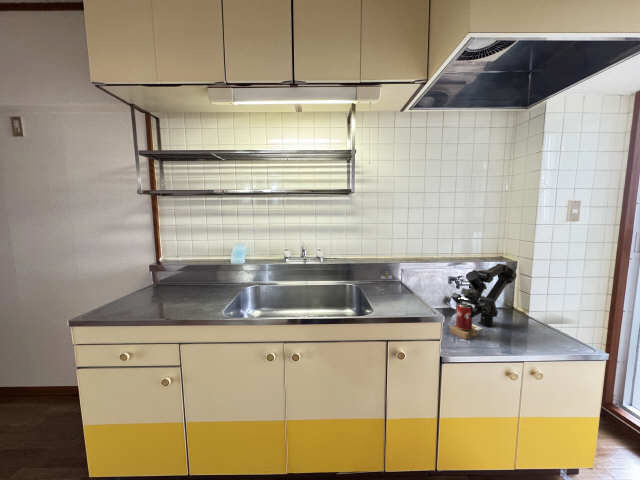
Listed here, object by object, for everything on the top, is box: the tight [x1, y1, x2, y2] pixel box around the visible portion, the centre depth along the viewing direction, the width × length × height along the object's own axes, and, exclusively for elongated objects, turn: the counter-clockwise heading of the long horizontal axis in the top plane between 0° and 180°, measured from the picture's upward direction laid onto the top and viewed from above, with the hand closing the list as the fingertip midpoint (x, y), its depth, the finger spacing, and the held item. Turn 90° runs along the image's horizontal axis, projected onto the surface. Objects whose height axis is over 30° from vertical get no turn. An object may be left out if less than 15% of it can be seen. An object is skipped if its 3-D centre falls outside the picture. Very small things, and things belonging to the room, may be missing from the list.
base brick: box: [449, 324, 478, 341], centre depth 141 cm, size 9×9×3 cm
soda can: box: [455, 302, 474, 330], centre depth 140 cm, size 7×7×12 cm
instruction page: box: [472, 323, 483, 331], centre depth 148 cm, size 10×7×1 cm
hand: (462, 315), depth 139 cm, fingers closed on soda can, 7 cm apart
